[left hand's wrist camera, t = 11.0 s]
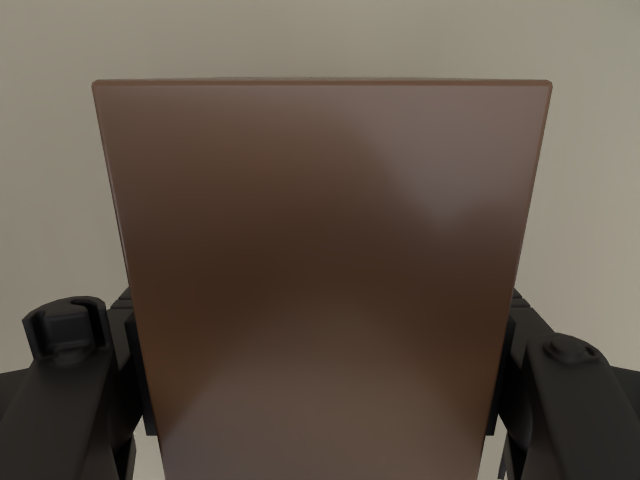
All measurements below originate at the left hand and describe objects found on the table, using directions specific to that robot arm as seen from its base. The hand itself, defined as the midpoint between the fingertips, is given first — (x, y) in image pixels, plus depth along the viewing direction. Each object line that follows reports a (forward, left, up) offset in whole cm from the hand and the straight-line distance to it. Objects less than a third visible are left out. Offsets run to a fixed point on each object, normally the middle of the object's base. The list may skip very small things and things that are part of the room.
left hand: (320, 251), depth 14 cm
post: (+7, -21, -1) cm, 22 cm away
